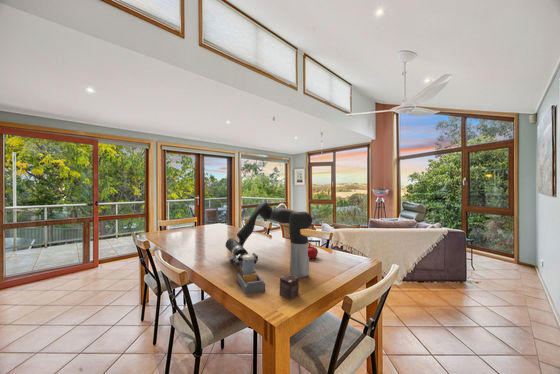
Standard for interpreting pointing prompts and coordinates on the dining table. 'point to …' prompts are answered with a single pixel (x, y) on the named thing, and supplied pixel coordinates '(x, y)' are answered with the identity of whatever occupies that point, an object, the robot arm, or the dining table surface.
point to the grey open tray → (252, 285)
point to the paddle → (250, 278)
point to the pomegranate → (312, 252)
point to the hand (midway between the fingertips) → (247, 263)
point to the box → (289, 286)
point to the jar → (248, 264)
